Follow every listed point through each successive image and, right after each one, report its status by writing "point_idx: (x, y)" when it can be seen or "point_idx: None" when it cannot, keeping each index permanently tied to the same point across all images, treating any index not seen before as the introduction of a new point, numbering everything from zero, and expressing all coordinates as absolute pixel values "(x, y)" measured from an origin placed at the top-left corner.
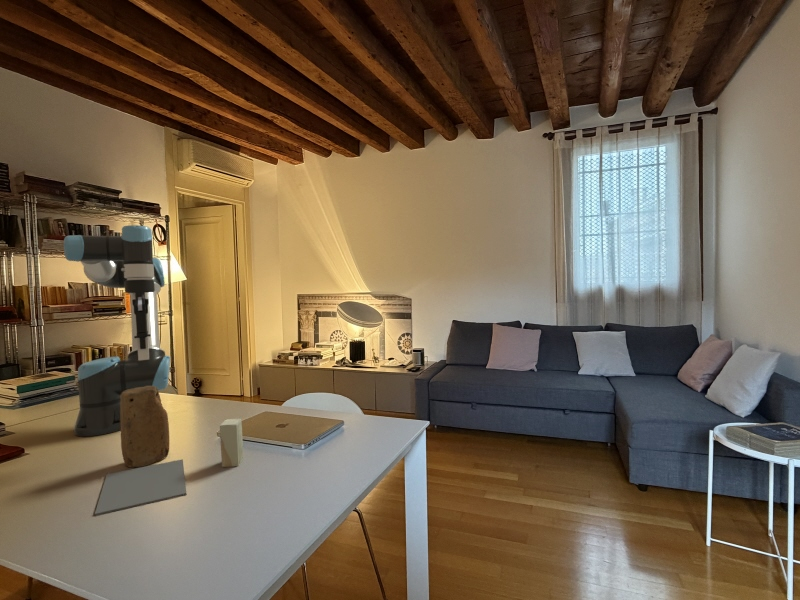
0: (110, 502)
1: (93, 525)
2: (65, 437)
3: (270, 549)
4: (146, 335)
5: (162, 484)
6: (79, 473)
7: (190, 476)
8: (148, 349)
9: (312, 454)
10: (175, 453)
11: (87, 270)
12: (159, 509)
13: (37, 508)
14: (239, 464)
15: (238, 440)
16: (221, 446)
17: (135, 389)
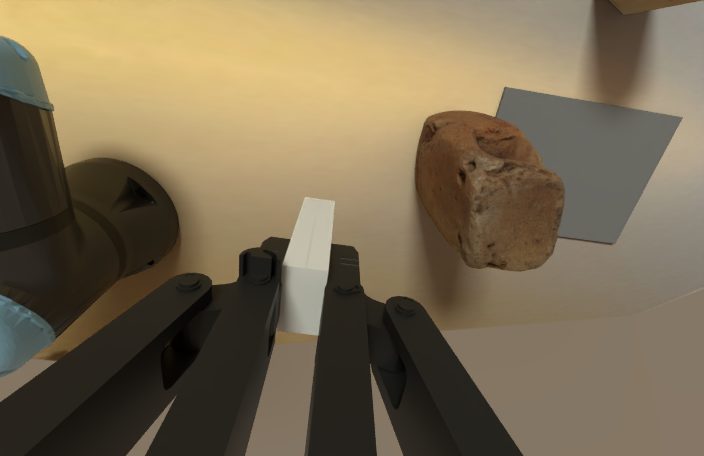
0: (596, 224)
1: (641, 244)
2: (152, 278)
3: None
4: (411, 301)
5: (603, 147)
6: (411, 257)
7: (605, 91)
8: (332, 225)
9: None
10: (441, 92)
11: None
12: (685, 165)
13: (513, 299)
14: None
15: None
16: (672, 5)
17: (502, 236)
